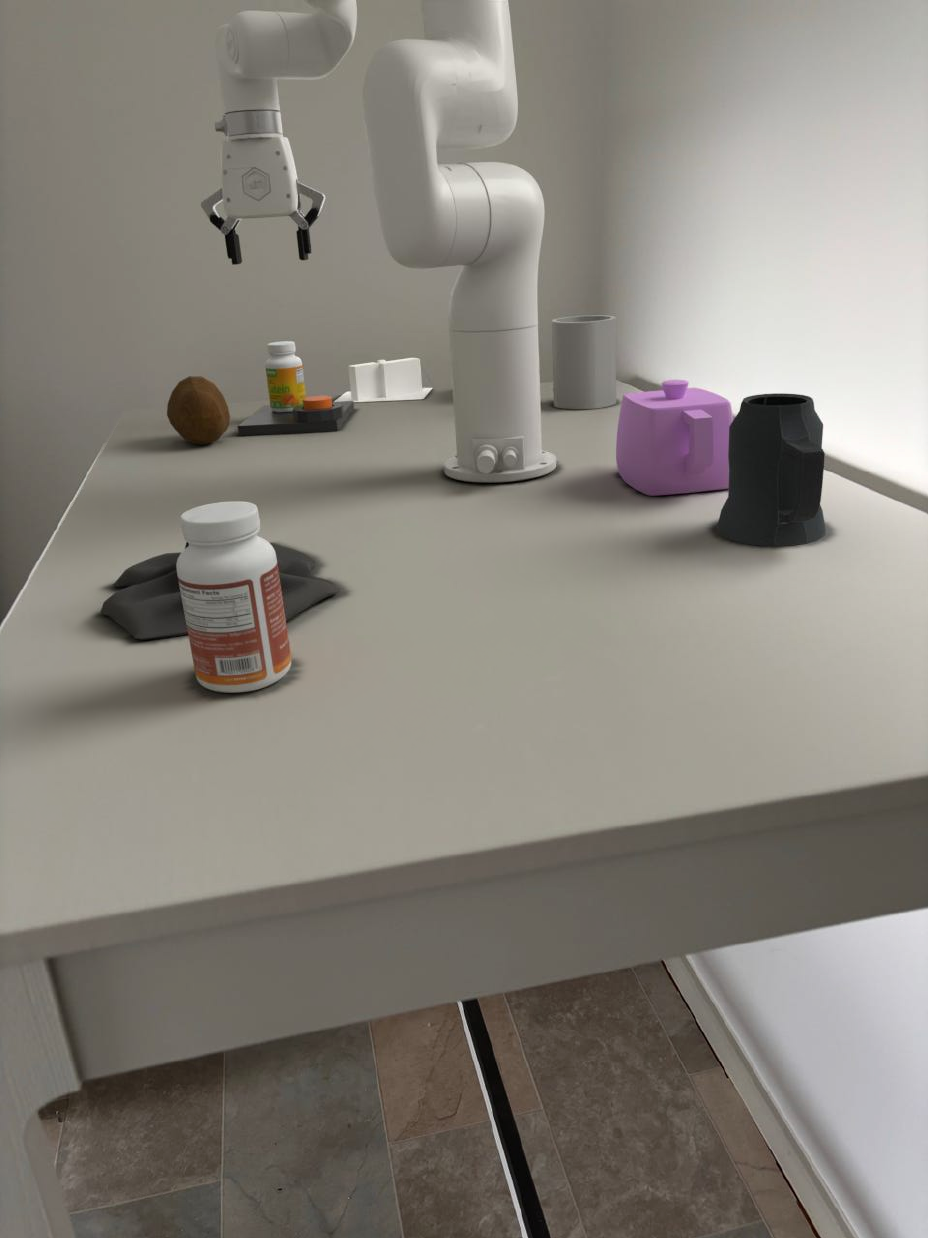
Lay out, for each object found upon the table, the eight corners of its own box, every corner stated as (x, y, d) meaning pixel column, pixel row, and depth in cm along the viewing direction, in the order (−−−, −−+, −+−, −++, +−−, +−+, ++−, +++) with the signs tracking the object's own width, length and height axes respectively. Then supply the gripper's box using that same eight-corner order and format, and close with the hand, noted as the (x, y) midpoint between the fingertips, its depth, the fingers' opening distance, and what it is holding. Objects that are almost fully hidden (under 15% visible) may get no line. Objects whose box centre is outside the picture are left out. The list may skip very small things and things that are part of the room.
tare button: (329, 410, 142) (328, 399, 141) (301, 412, 142) (300, 401, 142) (334, 405, 146) (333, 394, 145) (306, 407, 146) (305, 396, 145)
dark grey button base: (340, 431, 142) (338, 409, 140) (238, 436, 142) (235, 415, 141) (357, 409, 157) (355, 389, 156) (264, 414, 158) (262, 395, 157)
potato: (162, 452, 135) (151, 385, 132) (178, 434, 146) (168, 372, 143) (226, 447, 136) (216, 381, 132) (237, 430, 147) (229, 368, 143)
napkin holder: (432, 387, 172) (430, 352, 170) (424, 399, 162) (421, 362, 160) (346, 391, 174) (342, 357, 172) (331, 403, 164) (327, 366, 162)
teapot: (600, 465, 114) (598, 372, 110) (691, 457, 115) (693, 364, 111) (650, 507, 97) (650, 398, 93) (755, 496, 98) (760, 389, 94)
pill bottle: (255, 648, 70) (232, 492, 66) (311, 670, 66) (290, 505, 62) (177, 679, 66) (147, 515, 62) (232, 705, 62) (204, 531, 58)
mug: (701, 520, 92) (705, 394, 88) (798, 510, 93) (806, 386, 89) (752, 561, 81) (758, 420, 77) (861, 550, 82) (874, 410, 78)
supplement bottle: (264, 413, 151) (255, 345, 147) (281, 406, 155) (272, 340, 152) (297, 413, 149) (289, 344, 145) (313, 406, 154) (305, 339, 150)
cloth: (343, 626, 73) (334, 544, 71) (77, 656, 71) (59, 573, 69) (333, 538, 94) (326, 472, 92) (127, 559, 92) (114, 492, 89)
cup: (544, 402, 153) (542, 319, 148) (600, 395, 155) (599, 313, 151) (568, 411, 145) (566, 324, 140) (626, 404, 147) (626, 318, 143)
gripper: (183, 130, 135) (203, 267, 142) (312, 121, 134) (326, 259, 140) (199, 134, 142) (217, 264, 149) (322, 126, 141) (335, 256, 147)
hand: (270, 261), depth 144 cm, fingers open, 9 cm apart
